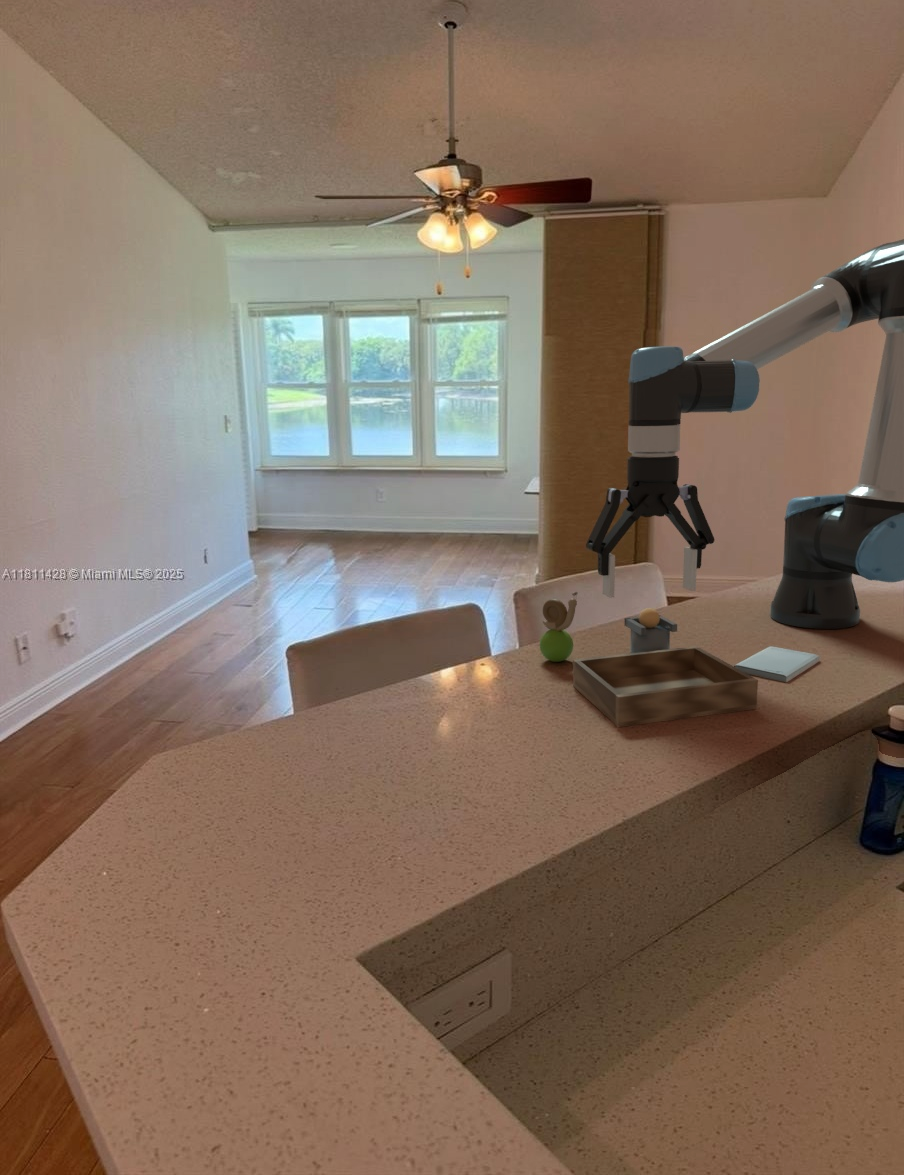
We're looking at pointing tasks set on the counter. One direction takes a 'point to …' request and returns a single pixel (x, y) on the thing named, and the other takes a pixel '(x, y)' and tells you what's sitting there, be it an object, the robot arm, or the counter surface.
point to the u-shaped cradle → (650, 635)
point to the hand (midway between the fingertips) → (649, 592)
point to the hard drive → (777, 663)
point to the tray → (663, 685)
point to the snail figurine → (557, 629)
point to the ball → (649, 618)
